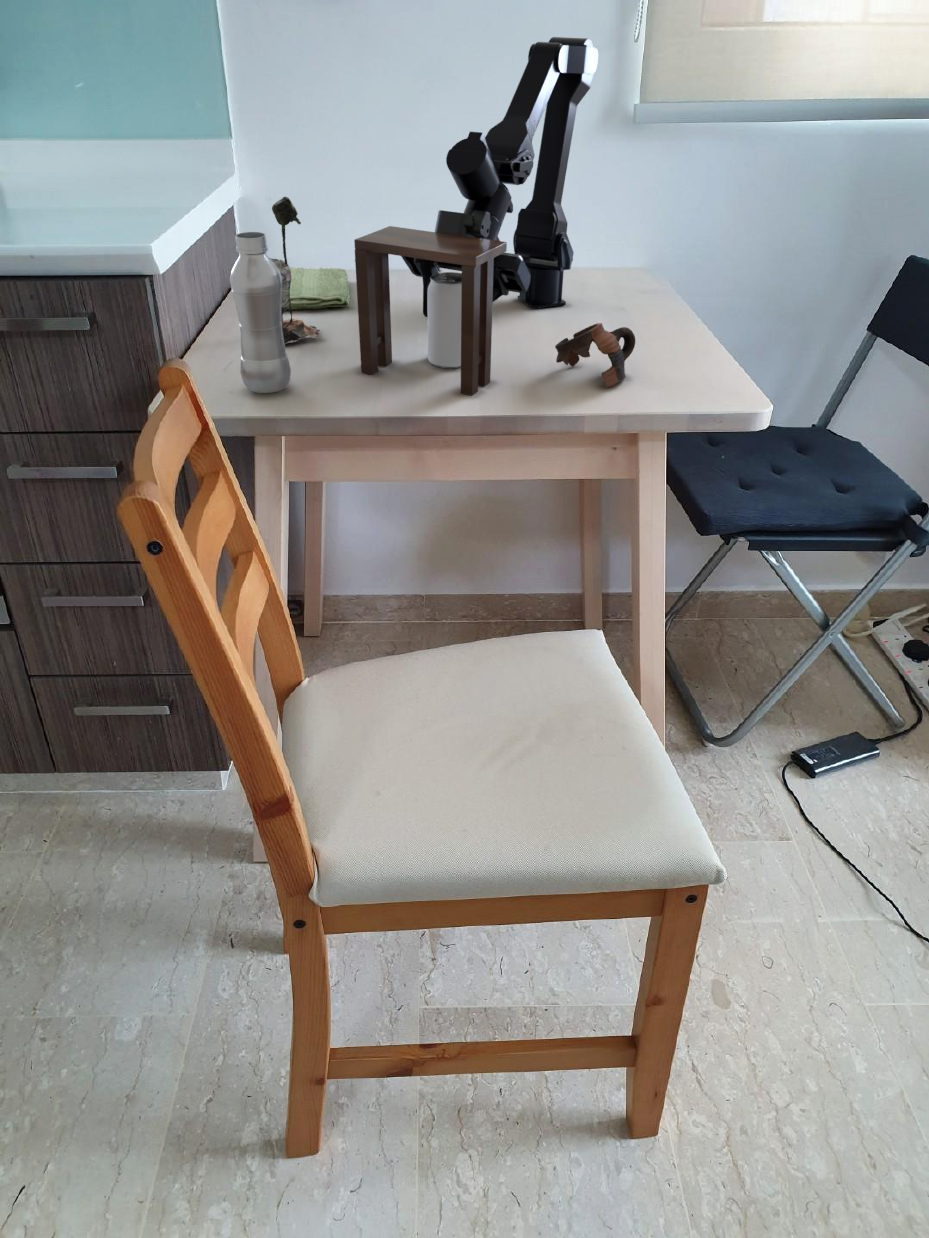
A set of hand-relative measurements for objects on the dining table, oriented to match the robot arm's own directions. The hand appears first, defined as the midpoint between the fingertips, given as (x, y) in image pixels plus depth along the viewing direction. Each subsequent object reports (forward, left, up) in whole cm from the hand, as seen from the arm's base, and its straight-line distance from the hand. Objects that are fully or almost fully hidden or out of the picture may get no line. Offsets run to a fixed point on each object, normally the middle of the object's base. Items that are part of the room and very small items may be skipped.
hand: (445, 319), depth 131 cm
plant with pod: (+19, -19, -7) cm, 28 cm away
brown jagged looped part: (-19, +12, -7) cm, 23 cm away
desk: (+3, +3, -7) cm, 8 cm away
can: (-1, -1, -7) cm, 7 cm away
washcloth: (+9, -39, -7) cm, 41 cm away
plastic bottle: (+26, +1, -7) cm, 27 cm away
